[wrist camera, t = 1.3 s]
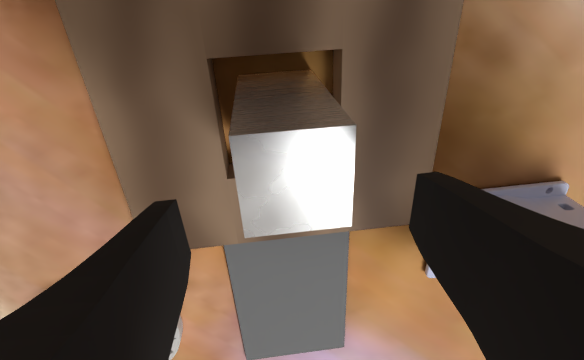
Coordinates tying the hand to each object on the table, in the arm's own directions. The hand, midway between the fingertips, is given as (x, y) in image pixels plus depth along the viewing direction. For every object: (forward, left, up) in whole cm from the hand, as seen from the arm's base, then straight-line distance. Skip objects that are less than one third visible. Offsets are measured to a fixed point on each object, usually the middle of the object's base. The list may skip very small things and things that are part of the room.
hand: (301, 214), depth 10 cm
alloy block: (0, 0, -10) cm, 11 cm away
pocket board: (0, 0, -10) cm, 10 cm away
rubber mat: (0, +16, -10) cm, 19 cm away
